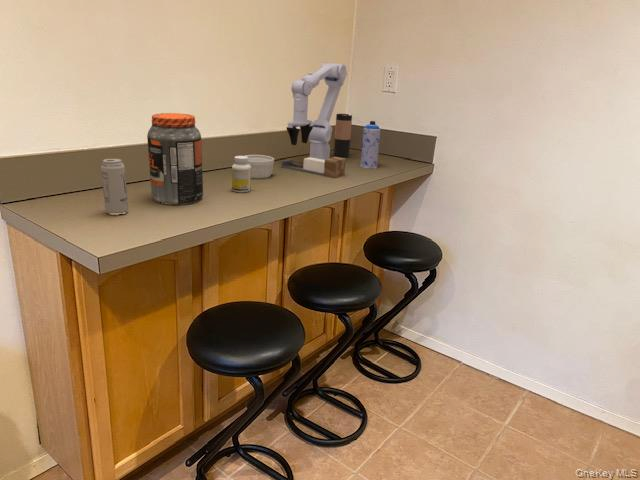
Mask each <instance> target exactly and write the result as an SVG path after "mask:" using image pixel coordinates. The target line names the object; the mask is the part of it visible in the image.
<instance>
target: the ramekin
mask: <svg viewBox="0 0 640 480" xmlns="http://www.w3.org/2000/svg"><path fill="white" fill-rule="evenodd" d="M245 156H247V157H248V164H249V165H250V166H251V179H256V180H257V179H267V178H270V177H271V175H272V174H273V169H274V163H275V158H274V157H272V156H269V155H263V154H248V155H247V154H245Z"/></svg>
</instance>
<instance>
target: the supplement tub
mask: <svg viewBox="0 0 640 480" xmlns="http://www.w3.org/2000/svg"><path fill="white" fill-rule="evenodd" d="M146 135H147V137H146V138H147V139H146V140H147V151H148V152H147V153H148V162H149V165H148V166H149V178H150V188H151V189H150V191H151V198H152V199H153V200H154V201H155V200H156V202H157V201H158V203H160V202H161V203H160V204H164V203H167V204H166V205H170V204H182V205H188V204H192V202H193V203H195V202H199V201H200V200H201V199H202V198H203V196H204V182H203V181H204V179H203V178H204V177H203V150H202V149H203V148H202V134H201V132H200V130H199V128H197V127H196V117H195V115H194V114H189V113H177V112H173V113H172V112H162V113H155V114H152V115H151V126H150V128H149V129H148V132H147V134H146ZM187 203H188V204H187Z"/></svg>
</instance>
